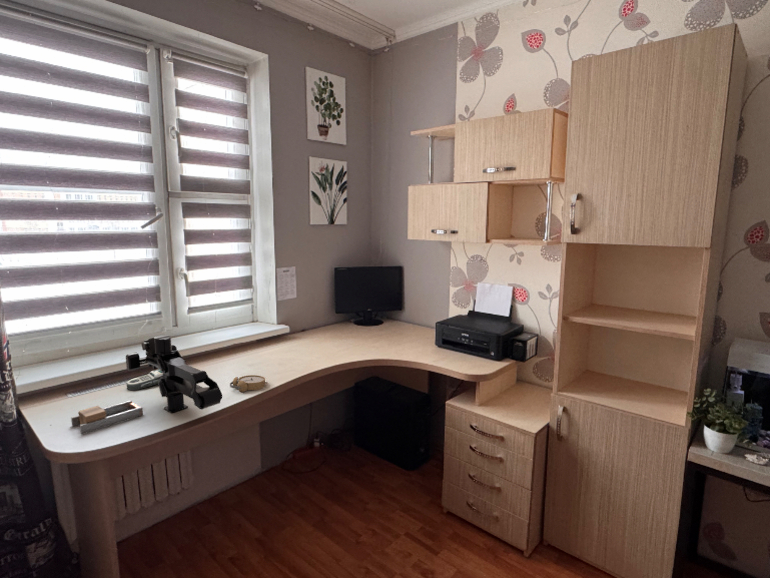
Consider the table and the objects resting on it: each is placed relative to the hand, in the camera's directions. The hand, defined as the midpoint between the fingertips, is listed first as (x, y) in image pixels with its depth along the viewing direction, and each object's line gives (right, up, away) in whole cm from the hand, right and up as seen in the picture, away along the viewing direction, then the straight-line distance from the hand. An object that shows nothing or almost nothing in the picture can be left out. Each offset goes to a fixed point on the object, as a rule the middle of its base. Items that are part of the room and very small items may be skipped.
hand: (143, 353), depth 185 cm
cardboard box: (-3, -21, -27) cm, 34 cm away
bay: (0, -21, -23) cm, 31 cm away
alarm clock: (+40, -16, +8) cm, 44 cm away
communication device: (-2, -15, +14) cm, 21 cm away
